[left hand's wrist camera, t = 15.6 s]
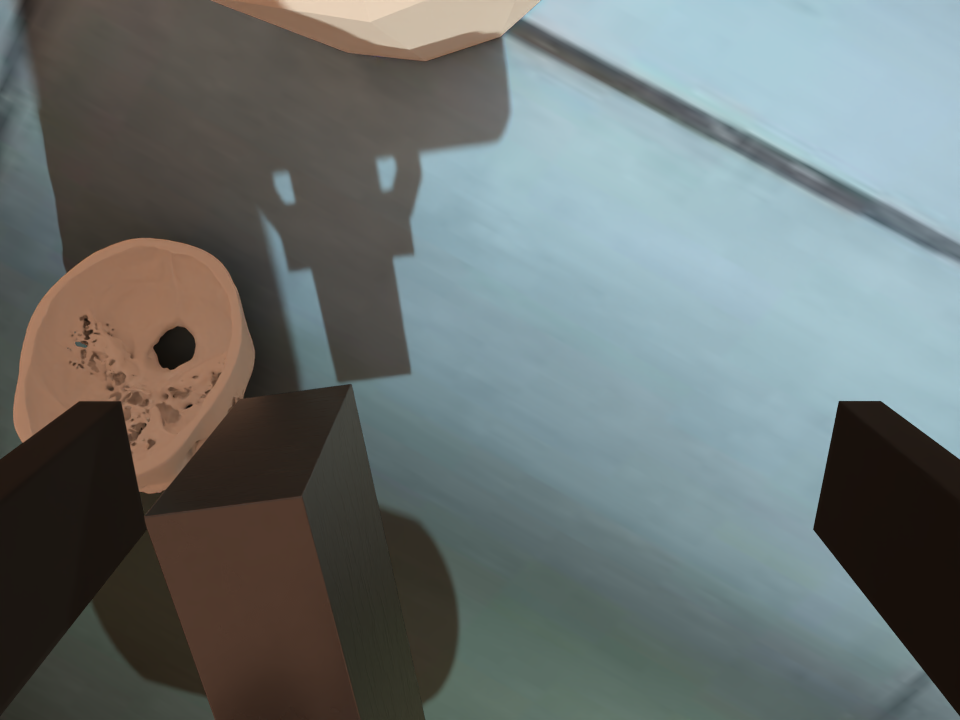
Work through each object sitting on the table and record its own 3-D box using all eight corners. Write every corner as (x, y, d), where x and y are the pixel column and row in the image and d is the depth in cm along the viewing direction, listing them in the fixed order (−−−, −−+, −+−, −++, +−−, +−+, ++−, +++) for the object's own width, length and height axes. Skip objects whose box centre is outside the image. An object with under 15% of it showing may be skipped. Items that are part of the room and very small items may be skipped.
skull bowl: (72, 483, 43) (-50, 479, 31) (142, 276, 46) (57, 199, 34) (239, 518, 44) (184, 527, 32) (298, 313, 47) (268, 251, 35)
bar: (238, 398, 28) (142, 517, 20) (351, 383, 28) (302, 496, 19) (359, 828, 36) (327, 1037, 28) (447, 818, 36) (440, 1025, 28)
